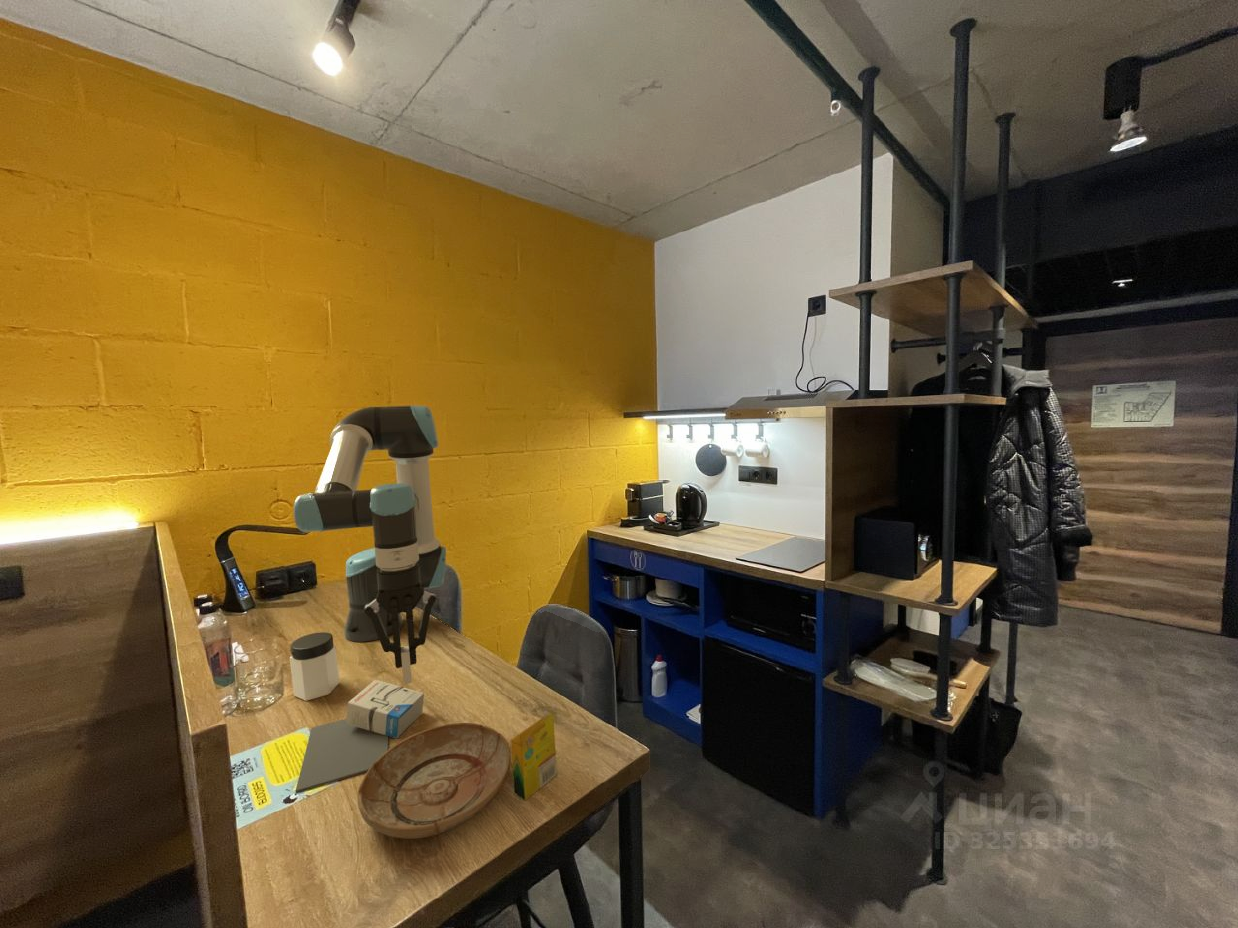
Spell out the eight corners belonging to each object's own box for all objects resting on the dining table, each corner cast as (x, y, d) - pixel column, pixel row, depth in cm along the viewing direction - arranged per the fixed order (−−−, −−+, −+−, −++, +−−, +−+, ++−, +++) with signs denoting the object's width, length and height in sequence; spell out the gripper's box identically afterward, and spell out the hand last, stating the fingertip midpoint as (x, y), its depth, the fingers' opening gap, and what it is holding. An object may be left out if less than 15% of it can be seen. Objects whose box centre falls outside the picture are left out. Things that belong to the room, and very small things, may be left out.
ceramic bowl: (403, 746, 93) (401, 721, 93) (525, 746, 93) (524, 721, 92) (327, 858, 70) (324, 826, 70) (489, 859, 70) (487, 827, 69)
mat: (311, 729, 99) (311, 727, 99) (388, 709, 104) (388, 708, 104) (295, 792, 82) (295, 790, 82) (387, 765, 88) (387, 763, 88)
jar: (310, 679, 117) (305, 631, 115) (345, 677, 117) (340, 630, 116) (286, 702, 108) (280, 650, 107) (324, 700, 108) (318, 649, 107)
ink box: (399, 717, 94) (345, 702, 96) (397, 740, 95) (344, 724, 97) (425, 691, 103) (375, 677, 105) (423, 712, 103) (373, 698, 105)
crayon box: (546, 767, 87) (543, 705, 85) (558, 774, 85) (555, 712, 84) (513, 793, 81) (509, 728, 80) (524, 801, 79) (521, 735, 78)
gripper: (358, 576, 88) (369, 699, 91) (435, 565, 93) (444, 681, 96) (360, 564, 94) (371, 679, 97) (432, 554, 100) (440, 663, 103)
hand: (407, 680), depth 97 cm, fingers closed
